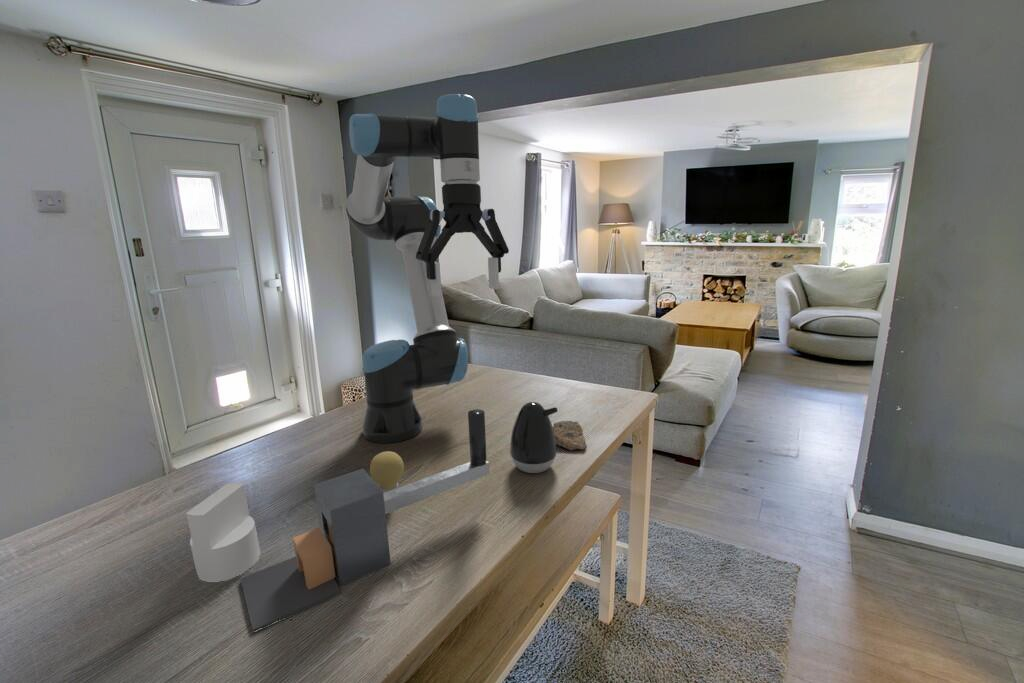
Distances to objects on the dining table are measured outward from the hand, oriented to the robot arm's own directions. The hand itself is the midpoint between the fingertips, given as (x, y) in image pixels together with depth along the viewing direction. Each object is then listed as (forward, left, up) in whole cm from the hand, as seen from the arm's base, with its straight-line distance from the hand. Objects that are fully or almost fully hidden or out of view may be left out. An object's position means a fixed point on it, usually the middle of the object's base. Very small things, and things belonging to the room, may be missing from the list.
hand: (466, 292), depth 98 cm
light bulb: (+2, -21, -39) cm, 44 cm away
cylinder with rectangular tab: (+3, -49, -39) cm, 63 cm away
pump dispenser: (+10, +9, -39) cm, 41 cm away
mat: (+15, -42, -39) cm, 59 cm away
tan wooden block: (+15, -38, -38) cm, 56 cm away
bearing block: (+15, -32, -39) cm, 52 cm away
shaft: (+15, -21, -32) cm, 41 cm away
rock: (+6, +23, -39) cm, 46 cm away
